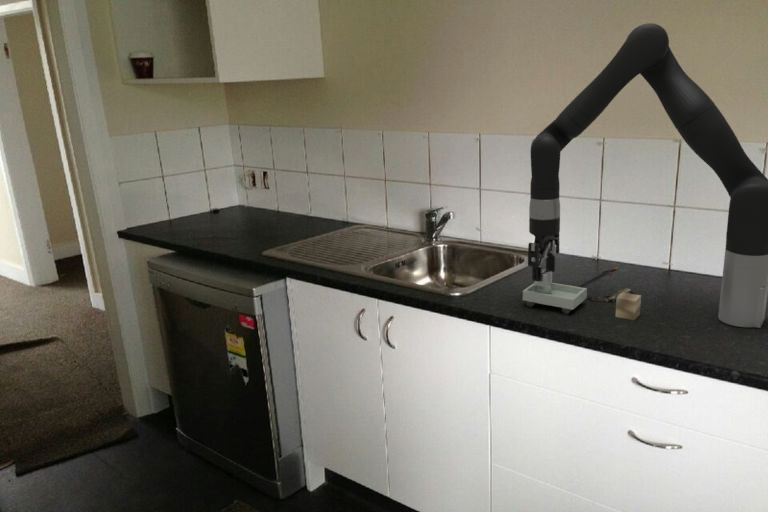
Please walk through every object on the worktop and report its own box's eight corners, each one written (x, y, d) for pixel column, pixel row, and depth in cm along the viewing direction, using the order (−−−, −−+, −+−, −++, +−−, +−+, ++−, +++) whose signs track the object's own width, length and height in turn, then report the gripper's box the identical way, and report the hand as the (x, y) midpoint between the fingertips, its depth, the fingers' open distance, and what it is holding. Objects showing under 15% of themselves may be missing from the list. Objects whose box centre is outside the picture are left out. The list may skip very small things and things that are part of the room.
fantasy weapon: (560, 297, 175) (612, 307, 164) (560, 290, 174) (612, 301, 164) (612, 269, 193) (662, 278, 183) (612, 264, 193) (662, 272, 182)
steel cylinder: (554, 292, 168) (555, 270, 166) (547, 297, 165) (548, 275, 163) (538, 289, 171) (539, 267, 169) (531, 294, 167) (531, 272, 166)
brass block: (639, 314, 158) (641, 295, 157) (634, 320, 155) (635, 301, 153) (621, 311, 161) (622, 292, 159) (615, 317, 157) (616, 297, 156)
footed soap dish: (586, 303, 166) (587, 288, 165) (572, 315, 159) (573, 299, 158) (537, 294, 174) (538, 280, 173) (522, 306, 167) (522, 290, 166)
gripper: (547, 222, 154) (546, 286, 159) (569, 210, 165) (568, 270, 169) (518, 219, 158) (518, 282, 163) (542, 207, 169) (541, 266, 174)
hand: (543, 276), depth 166 cm, fingers open, 8 cm apart
